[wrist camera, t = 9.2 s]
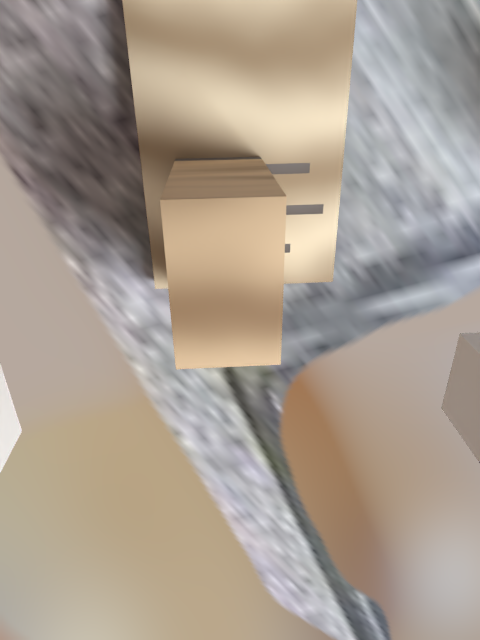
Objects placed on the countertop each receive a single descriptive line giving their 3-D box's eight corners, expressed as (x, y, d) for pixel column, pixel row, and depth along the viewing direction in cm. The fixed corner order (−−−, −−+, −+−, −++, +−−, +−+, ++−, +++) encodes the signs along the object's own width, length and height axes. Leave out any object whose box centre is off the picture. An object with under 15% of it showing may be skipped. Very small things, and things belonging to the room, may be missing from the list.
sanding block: (175, 158, 27) (159, 199, 18) (260, 156, 27) (286, 196, 18) (184, 284, 30) (175, 369, 22) (259, 281, 31) (280, 364, 22)
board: (125, 1, 24) (121, -3, 23) (350, -2, 24) (357, -5, 23) (156, 281, 32) (155, 288, 30) (328, 274, 32) (332, 281, 31)
